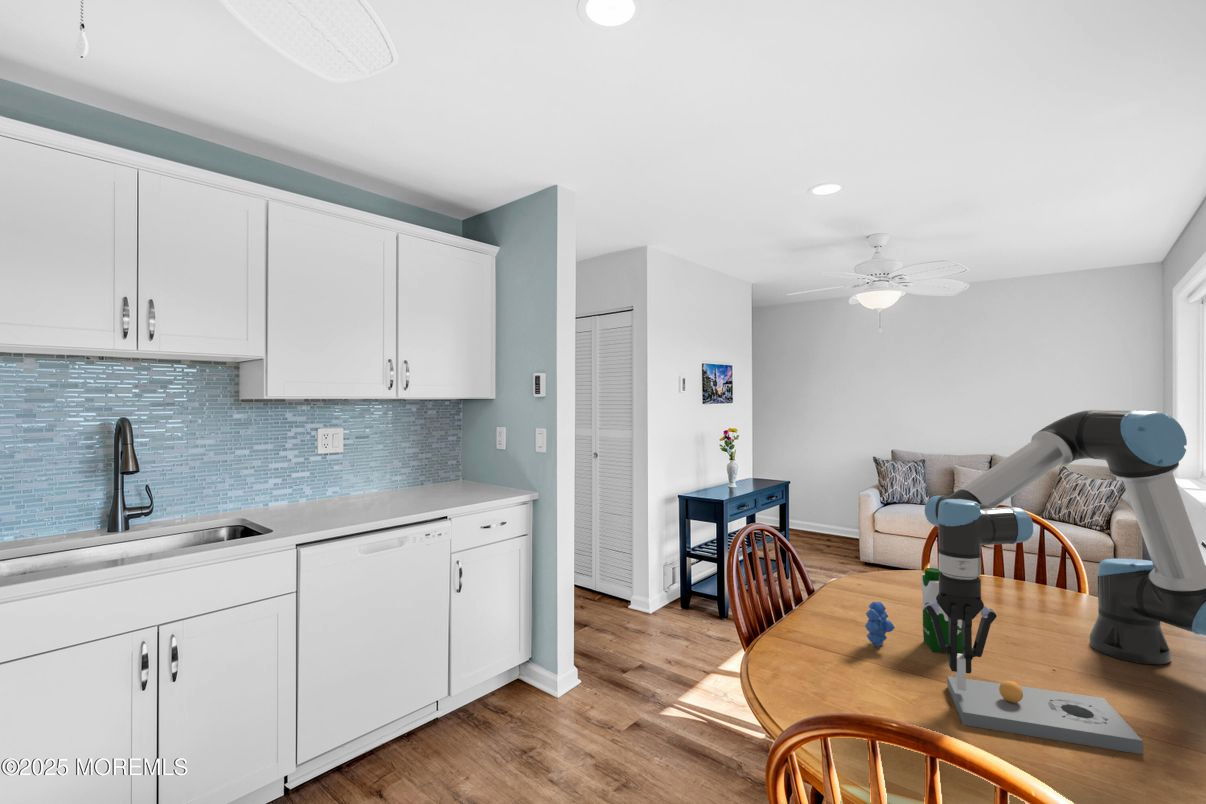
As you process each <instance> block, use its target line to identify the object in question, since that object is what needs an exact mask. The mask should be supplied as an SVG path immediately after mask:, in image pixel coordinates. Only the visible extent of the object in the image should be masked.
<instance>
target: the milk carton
mask: <svg viewBox="0 0 1206 804" xmlns="http://www.w3.org/2000/svg"><path fill="white" fill-rule="evenodd" d="M940 573H941V571H940V570H939V568H934V567H927V568H924V573H921V575H920V576H921V577H920V578H921V588H922V589H921V591H922V592H921V593H922V634H923V635H922V637H923V642H924V643H925V645H926V646H927V648H929V649H930V651H931V652H933V653H937V654H944V653H943V652H942V651H941V649H940V647H939V644H938V640H937V636H936V633H935V629H934V626H933V622H932V618H931V615H930V614H929V612H928V611H927V609H926V607H925V603H932V602H934V601H936V597H937V595H938V593H939V574H940ZM938 609H939V612H938V613H937V615H938V618H939V621H940V625H941V628H942V632H943V635H944V639H945V643H946V645H947V646H949V635H948V616H947V615H946V613H945V612H944V611H943V610H942V608H941V607H940V606H939V607H938ZM957 653H959V654H963V635H962V620H958V625H957Z"/></svg>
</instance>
